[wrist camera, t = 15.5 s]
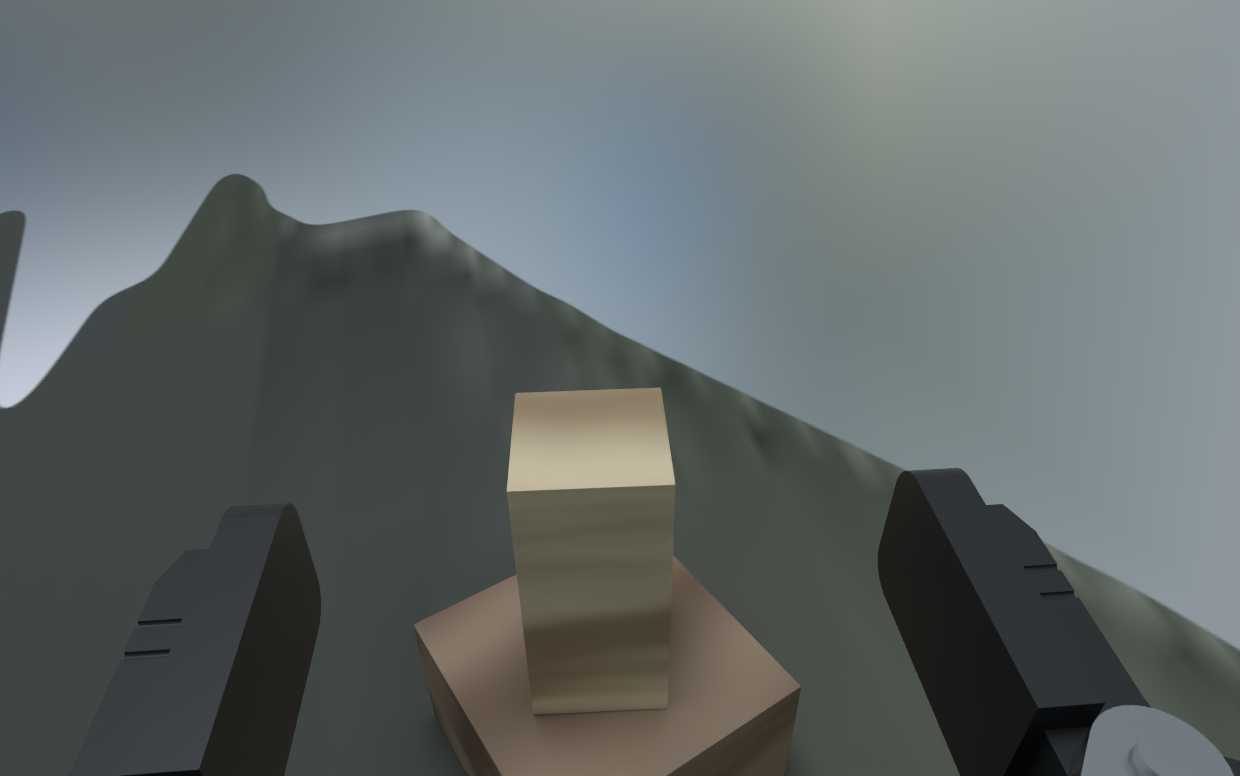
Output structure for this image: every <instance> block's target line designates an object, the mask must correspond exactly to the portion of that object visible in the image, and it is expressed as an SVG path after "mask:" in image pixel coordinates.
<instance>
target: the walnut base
mask: <svg viewBox="0 0 1240 776" xmlns="http://www.w3.org/2000/svg"><path fill="white" fill-rule="evenodd" d="M414 630H415V634H416V638H417V642H418V646H419V651H420V655H421V659H422V663H423V667H424V672H425V676H426V680H427V684H428V689H429V693H430V697H431V701H432V705H433V710H434V714H435V717H436V719H437V720H438V722H439V724H440V726H441V728H442V729H443V731H444V733H445V735H446V737H447V738H448V740H449V742H450V744H451V746H452V747H453V749H454V751H455V753H456V755H457V756H458V758H459V760H460V762H461V764H462V766H463V767H464V769H465V771H466V773H467V775H468V776H785V771H786V766H787V760H788V755H789V749H790V744H791V739H792V733H793V728H794V722H795V717H796V711H797V706H798V700H799V695H800V689H801V686H800V685H799V684H798V683H797V682H796V681H795V680H794V679H793V678H792V677H791V676H790V675H789V674H788V673H787V672H786V671H785V669H784V668H783V667H782V666H781V665H780V664H779V663H778V662H777V661H776V660H775V659H774V658H773V657H772V656H771V655H770V654H769V653H768V652H767V651H766V650H765V649H764V648H763V647H762V646H761V645H760V644H759V643H758V642H757V641H756V640H755V639H754V638H753V637H752V636H751V635H750V634H749V632H748V631H747V630H746V629H745V628H744V627H743V626H742V625H741V624H740V623H739V622H738V621H737V620H736V619H735V618H734V617H733V616H732V615H731V614H730V613H729V612H728V611H727V610H726V609H725V608H724V607H723V606H722V605H721V604H720V603H719V602H718V601H717V600H716V599H715V598H714V597H713V596H712V594H711V593H710V592H709V591H708V590H707V589H706V588H705V587H704V586H703V585H702V584H701V583H700V582H699V581H698V580H697V579H696V578H695V577H694V576H693V575H692V574H691V573H690V572H689V571H688V570H687V569H686V568H685V567H684V566H683V565H682V564H681V563H680V562H679V561H678V560H677V559H676V558H675V556H674V555H673V564H672V594H671V623H670V653H669V683H668V708H664V709H643V710H623V711H603V712H582V713H562V714H542V715H533V709H532V700H531V692H530V683H529V675H528V666H527V658H526V650H525V641H524V633H523V624H522V616H521V607H520V599H519V590H518V582H517V574H516V575H514V576H512V577H510V578H508V579H506V580H504V581H502V582H500V583H498V584H496V585H494V586H492V587H490V588H488V589H486V590H484V591H482V592H480V593H477V594H475V595H473V596H471V597H469V598H467V599H465V600H463V601H461V602H459V603H457V604H455V605H453V606H451V607H449V608H447V609H445V610H443V611H441V612H438V613H436V614H434V615H432V616H430V617H428V618H426V619H424V620H422V621H420V622H418V623H416V624H414Z"/></svg>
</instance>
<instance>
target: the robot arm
mask: <svg viewBox="0 0 1240 776" xmlns="http://www.w3.org/2000/svg"><path fill="white" fill-rule="evenodd" d="M878 571H879V578H880V583H881V587H882V590H883V593H884V596H885V598H886V600H887V603H888V605H889V607H890V610H891V612H892V615H893V617H894V619H895V622H896V624H897V626H898V629H899V631H900V634H901V636H902V638H903V641H904V643H905V645H906V648H907V650H908V653H909V655H910V657H911V660H912V662H913V664H914V667H915V669H916V672H917V674H918V676H919V679H920V681H921V683H922V686H923V688H924V691H925V693H926V695H927V698H928V700H929V702H930V705H931V707H932V710H933V712H934V714H935V717H936V719H937V721H938V724H939V726H940V729H941V731H942V733H943V736H944V738H945V740H946V743H947V745H948V748H949V750H950V752H951V755H952V757H953V759H954V762H955V764H956V767H957V769H958V771H959V774H960V776H1240V761H1238V760H1234V759H1230V758H1227V757H1224V756H1222V755H1221V753H1220V752H1219V751H1218V750H1217V749H1216V747H1215V746H1214V745H1213V744H1212V743H1211V742H1210V741H1209V740H1207V739H1206V738H1205V737H1204V736H1203V735H1202V734H1201V733H1199V732H1198V731H1197V730H1195V729H1194V728H1193V727H1191V726H1190V725H1188V724H1187V723H1185V722H1183V721H1182V720H1180V719H1178V718H1176V717H1174V716H1172V715H1170V714H1168V713H1165V712H1162V711H1160V710H1157V709H1153V708H1151V707H1150V706H1149V704H1148V703H1147V701H1146V700H1145V699H1144V697H1143V696H1142V694H1141V693H1140V691H1139V690H1138V688H1137V687H1136V685H1135V684H1134V682H1133V681H1132V679H1131V677H1130V676H1129V674H1128V673H1127V671H1126V670H1125V668H1124V667H1123V665H1122V664H1121V662H1120V660H1119V659H1118V657H1117V656H1116V654H1115V653H1114V651H1113V650H1112V648H1111V647H1110V645H1109V644H1108V642H1107V640H1106V639H1105V637H1104V636H1103V634H1102V633H1101V631H1100V630H1099V628H1098V627H1097V625H1096V623H1095V622H1094V620H1093V619H1092V617H1091V616H1090V614H1089V613H1088V611H1087V610H1086V608H1085V606H1084V605H1083V603H1082V602H1081V600H1080V599H1079V598H1075V596H1074V590H1073V588H1072V586H1071V585H1070V583H1069V582H1068V580H1067V579H1066V577H1065V576H1064V574H1063V573H1062V571H1058V570H1057V563H1056V562H1055V560H1054V559H1053V557H1052V556H1051V554H1050V552H1049V551H1048V549H1047V548H1046V546H1045V545H1044V543H1043V542H1042V540H1041V539H1040V537H1039V536H1038V534H1037V532H1036V531H1035V530H1033V529H1032V528H1031V527H1030V526H1029V525H1027V524H1026V523H1025V522H1024V521H1022V520H1021V519H1020V518H1019V517H1018V516H1016V515H1015V514H1014V513H1013V512H1012V511H1010V510H1009V509H1008V508H1007V507H1005V506H1004V505H1003V504H998V505H986V504H985V503H984V501H983V499H982V498H981V496H980V494H979V493H978V491H977V489H976V488H975V486H974V484H973V483H972V481H971V479H970V478H969V476H968V475H967V474H966V473H965V472H964V471H963V470H962V469H959V468H949V469H932V470H914V471H904V472H902V473H901V474H900V475H899V477H898V479H897V482H896V486H895V489H894V493H893V497H892V500H891V504H890V508H889V512H888V515H887V519H886V523H885V526H884V530H883V534H882V538H881V541H880V545H879V550H878ZM320 614H321V595H320V586H319V581H318V578H317V574H316V571H315V568H314V564H313V561H312V558H311V555H310V551H309V548H308V545H307V542H306V538H305V535H304V532H303V529H302V525H301V522H300V519H299V516H298V513H297V510H296V508H295V507H294V506H293V505H292V504H272V505H254V506H236V507H230V508H229V509H228V510H227V511H226V512H225V513H224V515H223V518H222V520H221V522H220V525H219V527H218V530H217V532H216V535H215V538H214V540H213V543H212V545H211V548H210V549H205V550H188V551H185V552H184V553H183V554H182V555H181V556H180V557H179V559H178V560H177V561H176V562H175V563H174V564H173V565H172V566H171V567H170V568H169V569H168V570H167V571H166V572H165V573H164V574H163V575H162V576H161V578H160V579H159V580H158V581H157V582H156V583H155V584H154V586H153V588H152V591H151V593H150V595H149V597H148V600H147V602H146V604H145V606H144V609H143V611H142V613H141V615H140V618H139V620H138V628H137V629H134V631H133V633H132V636H131V638H130V640H129V642H128V645H127V647H126V649H125V651H124V653H125V657H124V660H120V663H119V665H118V667H117V669H116V672H115V674H114V676H113V678H112V681H111V683H110V685H109V687H108V690H107V692H106V694H105V696H104V699H103V701H102V703H101V705H100V708H99V710H98V712H97V714H96V717H95V719H94V721H93V723H92V726H91V728H90V730H89V732H88V735H87V737H86V739H85V741H84V744H83V746H82V748H81V750H80V753H79V755H78V757H77V759H76V762H75V764H74V766H73V768H72V771H71V773H70V775H69V776H284V774H285V769H286V765H287V761H288V757H289V752H290V748H291V744H292V740H293V735H294V731H295V727H296V723H297V719H298V714H299V710H300V706H301V702H302V697H303V693H304V689H305V685H306V680H307V676H308V672H309V668H310V663H311V659H312V655H313V651H314V646H315V642H316V638H317V634H318V629H319V623H320Z"/></svg>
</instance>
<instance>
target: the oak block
mask: <svg viewBox="0 0 1240 776" xmlns="http://www.w3.org/2000/svg"><path fill="white" fill-rule="evenodd" d="M507 497H508V506H509V514H510V523H511V531H512V540H513V548H514V557H515V565H516V573H517V582H518V590H519V599H520V607H521V616H522V624H523V633H524V641H525V650H526V658H527V666H528V675H529V683H530V692H531V700H532V709H533V715H542V714H562V713H582V712H603V711H623V710H643V709H664V708H668V683H669V653H670V623H671V594H672V564H673V535H674V505H675V480H674V473H673V467H672V460H671V453H670V447H669V440H668V433H667V427H666V420H665V413H664V406H663V400H662V393H661V388H641V389H614V390H587V391H560V392H534V393H516V394H515V405H514V416H513V427H512V439H511V450H510V461H509V473H508V484H507Z"/></svg>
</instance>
